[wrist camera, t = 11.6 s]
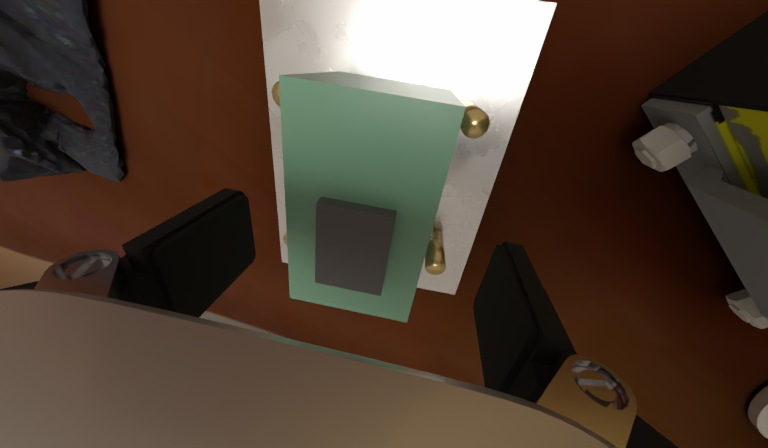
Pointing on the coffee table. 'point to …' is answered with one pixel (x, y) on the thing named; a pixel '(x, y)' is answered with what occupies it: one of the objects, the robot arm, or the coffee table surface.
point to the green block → (362, 186)
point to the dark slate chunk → (59, 74)
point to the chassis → (423, 67)
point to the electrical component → (722, 152)
